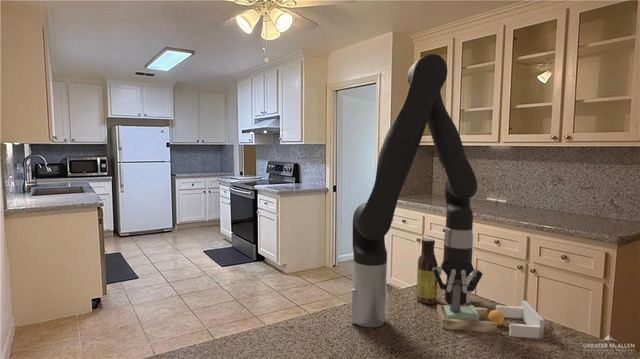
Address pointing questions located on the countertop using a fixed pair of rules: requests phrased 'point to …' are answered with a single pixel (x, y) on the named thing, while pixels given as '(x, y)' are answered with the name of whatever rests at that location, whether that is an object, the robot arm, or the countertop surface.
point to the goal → (528, 315)
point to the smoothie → (469, 291)
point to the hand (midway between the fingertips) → (455, 303)
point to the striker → (459, 305)
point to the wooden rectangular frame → (467, 322)
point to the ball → (496, 317)
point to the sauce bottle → (427, 273)
